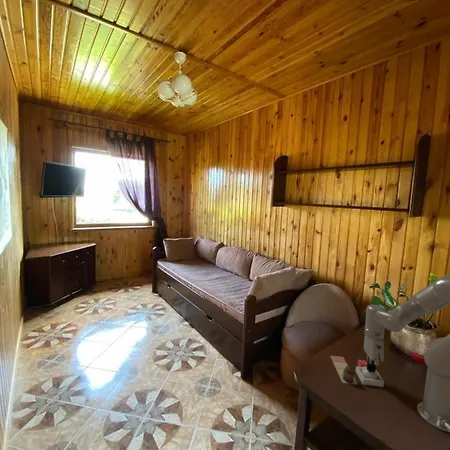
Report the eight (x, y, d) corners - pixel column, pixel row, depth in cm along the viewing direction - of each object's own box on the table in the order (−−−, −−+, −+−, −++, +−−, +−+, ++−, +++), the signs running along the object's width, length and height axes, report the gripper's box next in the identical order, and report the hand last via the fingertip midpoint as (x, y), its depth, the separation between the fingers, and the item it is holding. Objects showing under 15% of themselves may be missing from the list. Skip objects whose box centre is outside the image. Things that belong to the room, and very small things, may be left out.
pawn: (355, 383, 112) (356, 370, 111) (344, 382, 112) (346, 368, 112) (351, 376, 116) (352, 363, 115) (341, 375, 117) (342, 362, 116)
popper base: (384, 388, 110) (385, 379, 110) (362, 385, 112) (363, 376, 111) (369, 366, 125) (370, 358, 125) (350, 364, 126) (351, 356, 126)
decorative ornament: (409, 358, 133) (409, 353, 133) (412, 351, 140) (413, 346, 140) (432, 367, 126) (433, 361, 126) (434, 359, 133) (435, 354, 133)
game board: (358, 386, 111) (358, 384, 111) (341, 384, 112) (341, 382, 112) (343, 358, 131) (343, 356, 131) (329, 356, 132) (329, 355, 132)
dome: (379, 384, 112) (379, 376, 112) (364, 382, 113) (365, 374, 112) (373, 375, 118) (373, 367, 117) (359, 373, 119) (360, 365, 118)
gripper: (391, 342, 105) (387, 383, 107) (375, 325, 120) (372, 361, 121) (372, 340, 106) (369, 381, 108) (358, 324, 121) (356, 359, 122)
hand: (370, 370), depth 115 cm, fingers closed
